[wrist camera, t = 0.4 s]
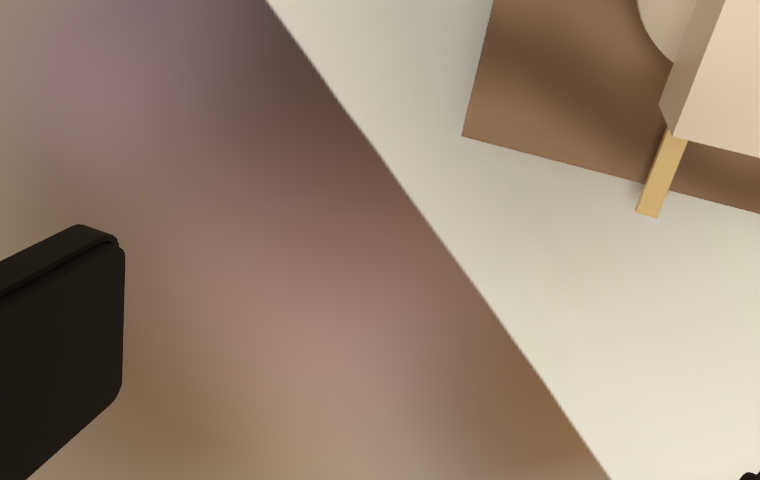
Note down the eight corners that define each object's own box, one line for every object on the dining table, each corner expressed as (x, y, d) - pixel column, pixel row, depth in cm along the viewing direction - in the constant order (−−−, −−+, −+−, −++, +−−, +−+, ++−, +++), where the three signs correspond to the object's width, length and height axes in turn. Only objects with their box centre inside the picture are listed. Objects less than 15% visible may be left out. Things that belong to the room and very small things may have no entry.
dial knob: (687, -186, 26) (725, -251, 18) (902, -155, 25) (1045, -212, 17) (566, 184, 33) (556, 252, 26) (726, 227, 32) (768, 313, 24)
